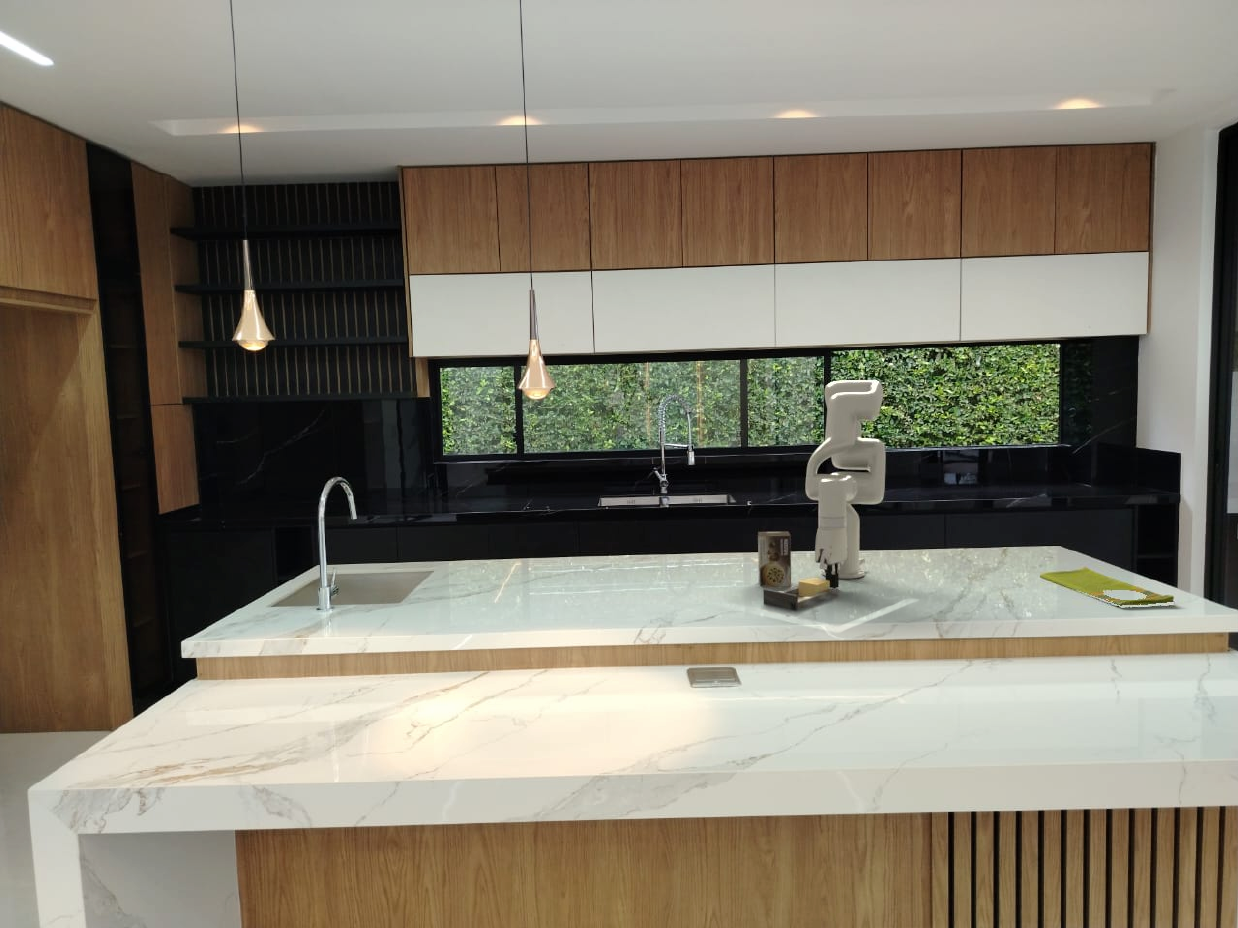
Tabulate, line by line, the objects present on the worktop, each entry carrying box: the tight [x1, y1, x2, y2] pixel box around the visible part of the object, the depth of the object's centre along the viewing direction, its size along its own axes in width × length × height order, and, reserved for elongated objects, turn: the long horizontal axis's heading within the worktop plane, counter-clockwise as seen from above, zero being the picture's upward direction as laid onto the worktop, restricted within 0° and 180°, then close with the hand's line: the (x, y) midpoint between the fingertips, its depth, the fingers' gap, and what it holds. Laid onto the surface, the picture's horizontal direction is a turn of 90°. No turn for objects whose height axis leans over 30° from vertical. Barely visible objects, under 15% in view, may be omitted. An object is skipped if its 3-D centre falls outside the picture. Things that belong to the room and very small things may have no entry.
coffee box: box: [757, 531, 792, 587], centre depth 249 cm, size 9×6×16 cm
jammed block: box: [797, 577, 831, 598], centre depth 235 cm, size 6×6×4 cm
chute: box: [763, 585, 839, 612], centre depth 231 cm, size 20×14×5 cm
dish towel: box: [1039, 566, 1175, 606], centre depth 239 cm, size 15×36×3 cm, turn 7°
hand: (832, 586), depth 242 cm, fingers closed
